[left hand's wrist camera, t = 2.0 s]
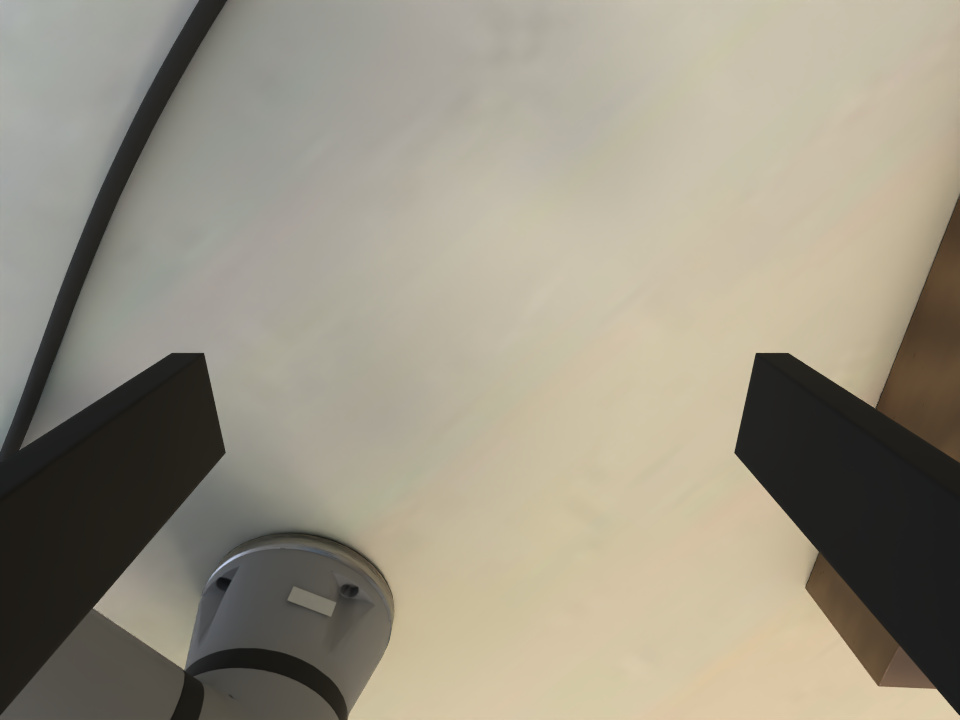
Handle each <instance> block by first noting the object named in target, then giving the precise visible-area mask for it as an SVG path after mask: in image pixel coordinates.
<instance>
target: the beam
mask: <svg viewBox="0 0 960 720" xmlns="http://www.w3.org/2000/svg"><path fill="white" fill-rule="evenodd" d="M876 410H878V411H880V412H881V413H883V414H884V415H886V416H887V417H889V418H890V419H892V420H894V421H895V422H897V423H898V424H900V425H901V426H903V427H905V428H906V429H908V430H909V431H911V432H912V433H914V434H915V435H917V436H919V437H920V438H922V439H923V440H925V441H926V442H928V443H930V444H931V445H933V446H934V447H936V448H937V449H939V450H940V451H942V452H944V453H945V454H947V455H948V456H950V457H951V458H953V459H955V460H956V461H958V462H959V463H960V197H959V200H958V202H957V205H956V207H955V210H954V213H953V215H952V218H951V220H950V223H949V225H948V228H947V230H946V233H945V235H944V238H943V240H942V243H941V246H940V248H939V251H938V253H937V256H936V258H935V261H934V263H933V266H932V268H931V271H930V274H929V276H928V279H927V281H926V284H925V286H924V289H923V291H922V294H921V296H920V299H919V301H918V304H917V307H916V309H915V312H914V314H913V317H912V319H911V322H910V324H909V327H908V329H907V332H906V334H905V337H904V340H903V342H902V345H901V347H900V350H899V352H898V355H897V357H896V360H895V362H894V365H893V367H892V370H891V373H890V375H889V378H888V380H887V383H886V385H885V388H884V390H883V393H882V395H881V398H880V401H879V403H878V406H877V408H876ZM806 590H807V591H808V593H809V594H810V595H811V597H812V598H813V599H814V601H815V602H816V603H817V605H818V606H819V607H820V609H821V610H822V611H823V613H824V614H825V615H826V617H827V618H828V619H829V621H830V622H831V623H832V625H833V626H834V628H835V629H836V630H837V632H838V633H839V634H840V636H841V637H842V638H843V640H844V641H845V642H846V644H847V645H848V646H849V648H850V649H851V650H852V652H853V653H854V654H855V656H856V657H857V658H858V660H859V661H860V662H861V664H862V665H863V666H864V668H865V669H866V671H867V672H868V673H869V675H870V676H871V677H872V679H873V680H874V681H875V683H876V684H877V685H878V686H884V687H907V688H929V689H936V687H935V686H934V685H933V684H932V683H931V682H930V680H929V679H928V678H927V677H926V676H925V675H924V673H923V672H922V671H921V670H920V669H919V668H918V666H917V665H916V664H915V663H914V662H913V661H912V659H911V658H910V657H909V656H908V655H907V654H906V652H905V651H904V650H903V649H902V648H901V647H900V645H899V644H898V643H897V642H896V641H895V640H894V638H893V637H892V636H891V635H890V634H889V633H888V631H887V630H886V629H885V628H884V627H883V626H882V624H881V623H880V622H879V621H878V620H877V619H876V617H875V616H874V615H873V614H872V613H871V612H870V610H869V609H868V608H867V607H866V606H865V605H864V603H863V602H862V601H861V600H860V599H859V598H858V596H857V595H856V594H855V593H854V592H853V591H852V589H851V588H850V587H849V586H848V585H847V584H846V582H845V581H844V580H843V579H842V578H841V577H840V575H839V574H838V573H837V572H836V571H835V570H834V568H833V567H832V566H831V565H830V564H829V563H828V561H827V560H826V559H825V558H824V557H823V556H822V554H821V553H819V555H818V558H817V561H816V563H815V566H814V568H813V571H812V573H811V576H810V578H809V581H808V583H807V586H806Z"/></svg>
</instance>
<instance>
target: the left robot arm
mask: <svg viewBox="0 0 960 720" xmlns="http://www.w3.org/2000/svg"><path fill="white" fill-rule="evenodd" d="M225 453H226V452H225V448H224V443H223V438H222V434H221V429H220V425H219V420H218V415H217V411H216V406H215V401H214V397H213V392H212V388H211V383H210V378H209V374H208V369H207V364H206V360H205V355H204V353H171V354H170V355H168V356H166V357H165V358H163V359H162V360H160V361H159V362H157V363H156V364H154V365H152V366H151V367H149V368H148V369H146V370H145V371H143V372H141V373H140V374H138V375H137V376H135V377H134V378H132V379H131V380H129V381H127V382H126V383H124V384H123V385H121V386H120V387H118V388H116V389H115V390H113V391H112V392H110V393H109V394H107V395H106V396H104V397H102V398H101V399H99V400H98V401H96V402H95V403H93V404H91V405H90V406H88V407H87V408H85V409H84V410H82V411H80V412H79V413H77V414H76V415H74V416H73V417H71V418H70V419H68V420H66V421H65V422H63V423H62V424H60V425H59V426H57V427H55V428H54V429H52V430H51V431H49V432H48V433H46V434H45V435H43V436H41V437H40V438H38V439H37V440H35V441H34V442H32V443H30V444H29V445H27V446H26V447H24V448H23V449H21V450H20V451H18V452H16V453H15V454H13V455H12V456H10V457H9V458H7V459H5V460H4V461H2V462H1V463H0V720H347V719H348V715H349V713H350V711H351V709H352V708H353V706H354V704H355V703H356V701H357V699H358V697H359V696H360V694H361V692H362V691H363V689H364V687H365V685H366V684H367V682H368V680H369V679H370V677H371V675H372V673H373V672H374V670H375V668H376V667H377V665H378V663H379V661H380V660H381V658H382V656H383V654H384V652H385V650H386V648H387V646H388V643H389V640H390V635H391V629H392V624H393V619H394V603H393V598H392V595H391V592H390V589H389V587H388V585H387V583H386V582H385V580H384V578H383V577H382V576H381V574H380V573H379V572H378V570H377V569H376V568H375V567H374V566H373V565H372V564H371V563H370V562H368V561H367V560H366V559H365V558H363V557H362V556H361V555H359V554H358V553H356V552H355V551H353V550H351V549H350V548H348V547H346V546H344V545H341V544H339V543H337V542H334V541H331V540H328V539H325V538H321V537H317V536H312V535H306V534H292V533H285V534H274V535H267V536H263V537H259V538H256V539H253V540H250V541H248V542H246V543H244V544H242V545H240V546H238V547H237V548H235V549H234V550H232V551H231V552H230V553H229V554H227V555H226V556H225V557H224V558H223V560H222V561H221V562H220V563H219V565H218V566H217V568H216V569H215V571H214V572H213V574H212V576H211V577H210V579H209V580H208V582H207V583H206V585H205V587H204V590H203V593H202V596H201V599H200V602H199V606H198V611H197V615H196V620H195V625H194V629H193V634H192V638H191V643H190V648H189V652H188V657H187V661H186V666H185V669H184V670H183V669H182V668H180V667H179V666H177V665H176V664H174V663H173V662H172V661H170V660H169V659H167V658H166V657H164V656H163V655H161V654H160V653H158V652H157V651H155V650H154V649H152V648H151V647H149V646H148V645H146V644H145V643H143V642H142V641H140V640H139V639H137V638H136V637H135V636H133V635H132V634H130V633H129V632H127V631H126V630H124V629H123V628H121V627H120V626H118V625H117V624H115V623H114V622H112V621H111V620H109V619H108V618H106V617H105V616H103V615H102V614H100V613H99V612H97V611H96V610H95V609H93V607H94V606H95V605H96V603H97V602H98V601H99V600H100V599H101V598H102V596H103V595H104V594H105V593H106V592H107V591H108V589H109V588H110V587H111V586H112V585H113V584H114V582H115V581H116V580H117V579H118V578H119V577H120V575H121V574H122V573H123V572H124V571H125V570H126V568H127V567H128V566H129V565H130V564H131V563H132V561H133V560H134V559H135V558H136V557H137V556H138V554H139V553H140V552H141V551H142V550H143V549H144V547H145V546H146V545H147V544H148V543H149V542H150V540H151V539H152V538H153V537H154V536H155V535H156V533H157V532H158V531H159V530H160V529H161V528H162V526H163V525H164V524H165V523H166V522H167V521H168V519H169V518H170V517H171V516H172V515H173V514H174V512H175V511H176V510H177V509H178V508H179V507H180V505H181V504H182V503H183V502H184V501H185V500H186V498H187V497H188V496H189V495H190V494H191V493H192V491H193V490H194V489H195V488H196V487H197V486H198V484H199V483H200V482H201V481H202V480H203V479H204V477H205V476H206V475H207V474H208V473H209V472H210V470H211V469H212V468H213V467H214V466H215V465H216V463H217V462H218V461H219V460H220V459H221V458H222V456H223V455H224V454H225ZM734 453H735V454H736V455H737V456H738V458H739V459H740V460H741V461H742V462H743V463H744V465H745V466H746V467H747V468H748V469H749V470H750V472H751V473H752V474H753V475H754V476H755V477H756V479H757V480H758V481H759V482H760V483H761V484H762V486H763V487H764V488H765V489H766V490H767V491H768V493H769V494H770V495H771V496H772V497H773V498H774V500H775V501H776V502H777V503H778V504H779V505H780V507H781V508H782V509H783V510H784V511H785V512H786V514H787V515H788V516H789V517H790V518H791V519H792V521H793V522H794V523H795V524H796V525H797V526H798V528H799V529H800V530H801V531H802V532H803V533H804V535H805V536H806V537H807V538H808V539H809V540H810V542H811V543H812V544H813V545H814V546H815V547H816V549H817V550H818V551H819V552H820V553H821V554H822V556H823V557H824V558H825V559H826V560H827V561H828V563H829V564H830V565H831V566H832V567H833V568H834V570H835V571H836V572H837V573H838V574H839V575H840V577H841V578H842V579H843V580H844V581H845V582H846V584H847V585H848V586H849V587H850V588H851V589H852V591H853V592H854V593H855V594H856V595H857V596H858V598H859V599H860V600H861V601H862V602H863V603H864V605H865V606H866V607H867V608H868V609H869V610H870V612H871V613H872V614H873V615H874V616H875V617H876V619H877V620H878V621H879V622H880V623H881V624H882V626H883V627H884V628H885V629H886V630H887V631H888V633H889V634H890V635H891V636H892V637H893V638H894V640H895V641H896V642H897V643H898V644H899V645H900V647H901V648H902V649H903V650H904V651H905V652H906V654H907V655H908V656H909V657H910V658H911V659H912V661H913V662H914V663H915V664H916V665H917V666H918V668H919V669H920V670H921V671H922V672H923V673H924V675H925V676H926V677H927V678H928V679H929V680H930V682H931V683H932V684H933V685H934V686H935V687H936V689H937V690H938V691H939V692H940V693H941V694H942V696H943V697H944V698H945V699H946V700H947V701H948V703H949V704H950V705H951V706H952V707H953V708H954V710H955V711H956V712H957V713H958V714H959V715H960V463H959V462H958V461H956V460H955V459H953V458H951V457H950V456H948V455H947V454H945V453H944V452H942V451H940V450H939V449H937V448H936V447H934V446H933V445H931V444H930V443H928V442H926V441H925V440H923V439H922V438H920V437H919V436H917V435H915V434H914V433H912V432H911V431H909V430H908V429H906V428H905V427H903V426H901V425H900V424H898V423H897V422H895V421H894V420H892V419H890V418H889V417H887V416H886V415H884V414H883V413H881V412H880V411H878V410H876V409H875V408H873V407H872V406H870V405H869V404H867V403H865V402H864V401H862V400H861V399H859V398H858V397H856V396H854V395H853V394H851V393H850V392H848V391H847V390H845V389H844V388H842V387H840V386H839V385H837V384H836V383H834V382H833V381H831V380H829V379H828V378H826V377H825V376H823V375H822V374H820V373H819V372H817V371H815V370H814V369H812V368H811V367H809V366H808V365H806V364H804V363H803V362H801V361H800V360H798V359H797V358H795V357H794V356H792V355H790V354H789V353H756V355H755V360H754V364H753V369H752V374H751V378H750V383H749V388H748V392H747V397H746V401H745V406H744V411H743V415H742V420H741V425H740V429H739V434H738V438H737V443H736V448H735V452H734Z"/></svg>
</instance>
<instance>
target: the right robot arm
mask: <svg viewBox="0 0 960 720" xmlns="http://www.w3.org/2000/svg"><path fill="white" fill-rule="evenodd" d="M226 1H227V0H199V2H198V3H197V5H196V7H195V8H194V10H193V12H192V13H191V15H190V17H189V19H188V20H187V22H186V24H185V25H184V27H183V29H182V31H181V32H180V34H179V36H178V38H177V39H176V41H175V43H174V45H173V47H172V48H171V50H170V52H169V54H168V55H167V57H166V59H165V61H164V63H163V64H162V66H161V68H160V70H159V72H158V73H157V75H156V77H155V79H154V81H153V83H152V85H151V86H150V88H149V90H148V92H147V94H146V96H145V98H144V100H143V102H142V104H141V106H140V108H139V110H138V112H137V113H136V115H135V117H134V119H133V122H132V124H131V126H130V128H129V130H128V132H127V134H126V136H125V138H124V140H123V142H122V144H121V146H120V148H119V150H118V153H117V155H116V157H115V159H114V161H113V163H112V165H111V167H110V170H109V172H108V174H107V176H106V178H105V181H104V183H103V185H102V187H101V190H100V192H99V194H98V196H97V199H96V201H95V203H94V206H93V208H92V211H91V213H90V215H89V218H88V220H87V223H86V225H85V228H84V230H83V233H82V235H81V238H80V240H79V243H78V245H77V248H76V250H75V253H74V255H73V258H72V260H71V263H70V265H69V268H68V270H67V273H66V276H65V278H64V281H63V283H62V286H61V289H60V291H59V294H58V297H57V300H56V302H55V305H54V308H53V311H52V314H51V316H50V319H49V322H48V325H47V328H46V330H45V333H44V336H43V339H42V341H41V344H40V347H39V350H38V352H37V355H36V358H35V361H34V363H33V366H32V369H31V372H30V375H29V377H28V380H27V383H26V386H25V389H24V391H23V394H22V397H21V400H20V402H19V405H18V408H17V411H16V413H15V416H14V419H13V421H12V424H11V426H10V429H9V431H8V434H7V436H6V439H5V441H4V444H3V446H2V449H1V451H0V463H1V462H2V461H4V460H5V459H7V458H9V457H10V456H12V455H13V454H15V453H16V452H18V451H19V449H20V447H21V444H22V442H23V440H24V437H25V435H26V432H27V430H28V428H29V425H30V423H31V420H32V418H33V415H34V412H35V410H36V407H37V405H38V402H39V399H40V397H41V394H42V391H43V389H44V386H45V383H46V381H47V378H48V375H49V373H50V370H51V367H52V365H53V362H54V359H55V357H56V354H57V351H58V349H59V346H60V344H61V341H62V338H63V336H64V333H65V330H66V328H67V325H68V322H69V319H70V317H71V314H72V311H73V309H74V306H75V303H76V301H77V298H78V296H79V293H80V290H81V288H82V285H83V283H84V280H85V278H86V275H87V273H88V270H89V268H90V266H91V263H92V261H93V258H94V256H95V253H96V251H97V249H98V246H99V244H100V241H101V239H102V237H103V234H104V232H105V230H106V227H107V225H108V222H109V220H110V218H111V216H112V213H113V211H114V209H115V206H116V204H117V202H118V200H119V198H120V195H121V193H122V191H123V189H124V187H125V185H126V183H127V180H128V178H129V176H130V174H131V172H132V170H133V168H134V166H135V164H136V162H137V160H138V158H139V156H140V154H141V152H142V150H143V148H144V146H145V144H146V142H147V140H148V138H149V136H150V134H151V132H152V130H153V128H154V126H155V124H156V122H157V120H158V118H159V116H160V114H161V113H162V111H163V109H164V107H165V105H166V103H167V101H168V100H169V98H170V96H171V94H172V92H173V91H174V89H175V87H176V85H177V83H178V82H179V80H180V78H181V76H182V75H183V73H184V71H185V69H186V68H187V66H188V64H189V62H190V61H191V59H192V57H193V56H194V54H195V52H196V50H197V49H198V47H199V45H200V44H201V42H202V40H203V39H204V37H205V35H206V34H207V32H208V30H209V29H210V27H211V25H212V24H213V22H214V20H215V19H216V17H217V16H218V14H219V12H220V11H221V9H222V7H223V6H224V4H225V3H226Z"/></svg>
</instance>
